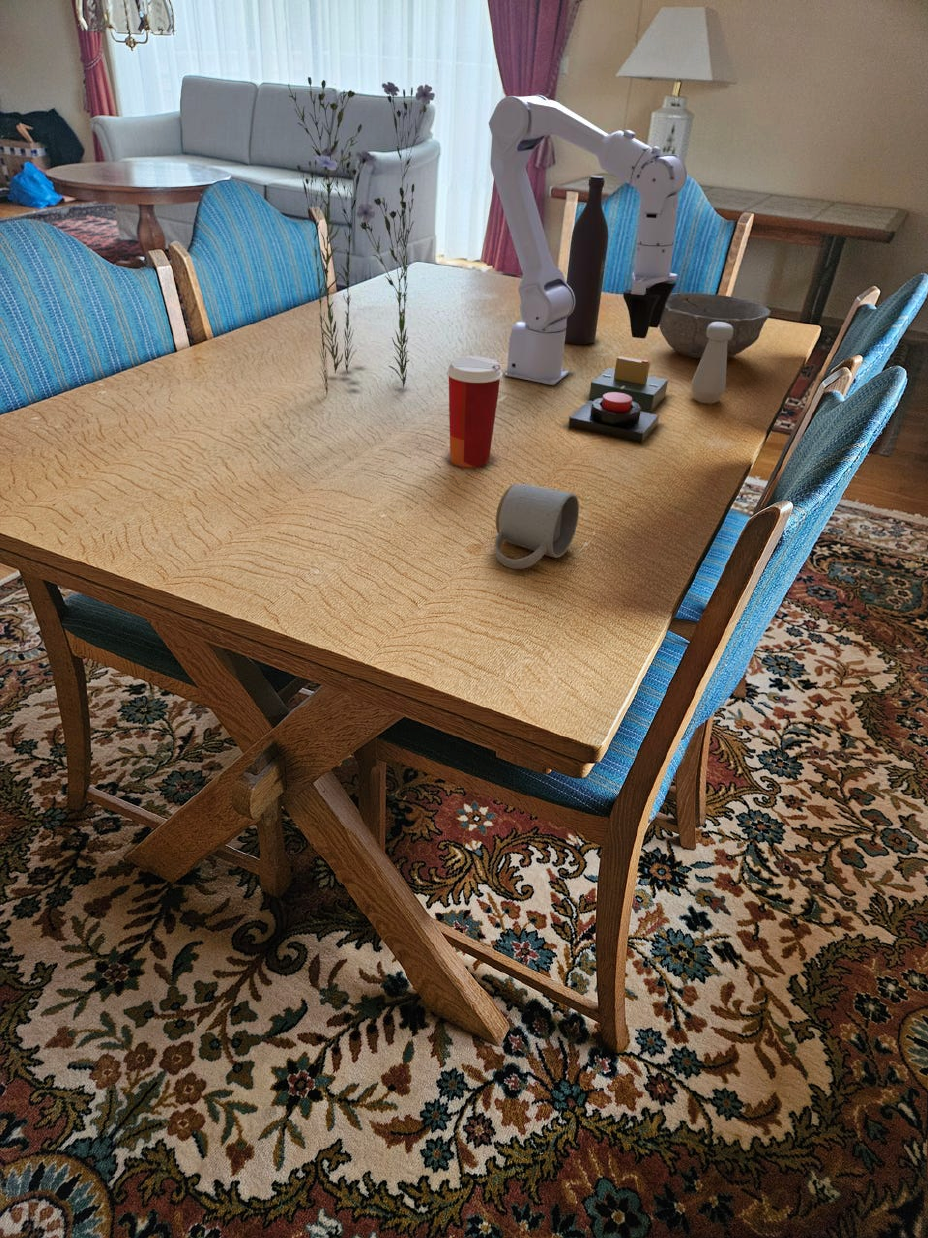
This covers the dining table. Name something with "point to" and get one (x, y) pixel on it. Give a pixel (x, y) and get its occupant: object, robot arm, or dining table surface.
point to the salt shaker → (712, 365)
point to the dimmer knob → (632, 370)
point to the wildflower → (360, 213)
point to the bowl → (710, 321)
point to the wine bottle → (587, 266)
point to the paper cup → (472, 408)
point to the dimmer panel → (630, 389)
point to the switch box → (614, 421)
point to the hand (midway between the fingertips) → (645, 331)
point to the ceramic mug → (535, 522)
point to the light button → (616, 401)
